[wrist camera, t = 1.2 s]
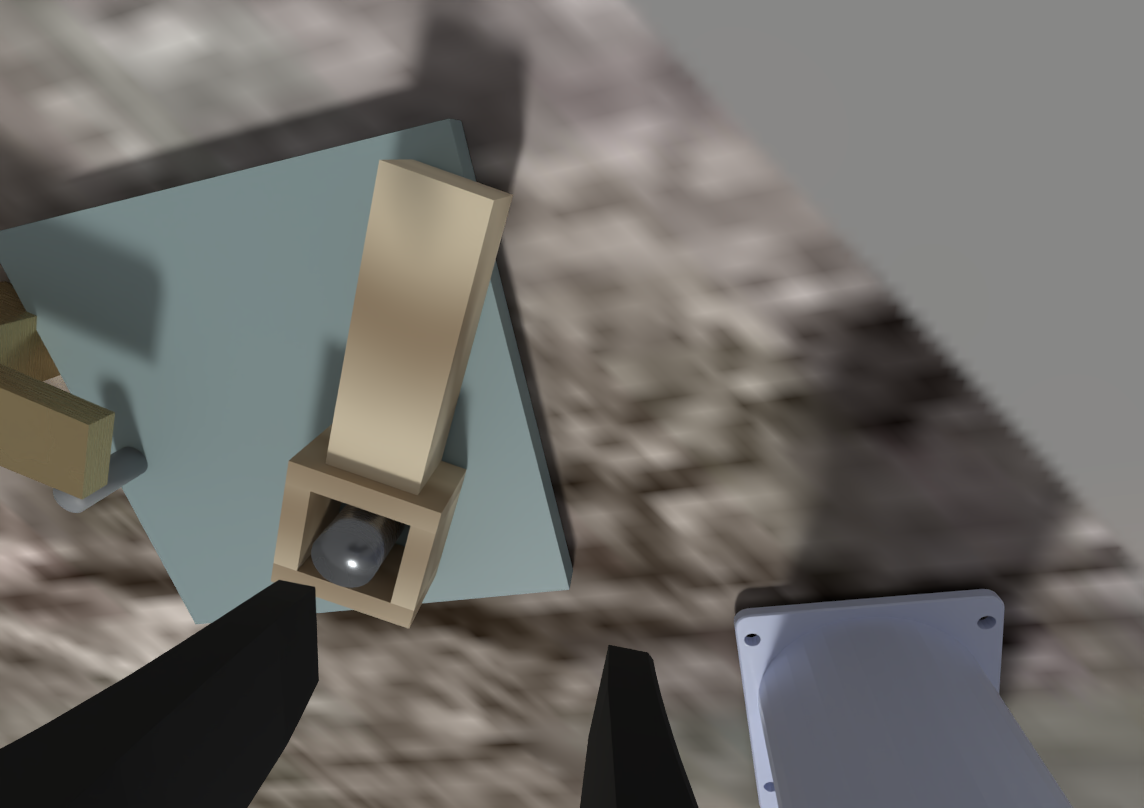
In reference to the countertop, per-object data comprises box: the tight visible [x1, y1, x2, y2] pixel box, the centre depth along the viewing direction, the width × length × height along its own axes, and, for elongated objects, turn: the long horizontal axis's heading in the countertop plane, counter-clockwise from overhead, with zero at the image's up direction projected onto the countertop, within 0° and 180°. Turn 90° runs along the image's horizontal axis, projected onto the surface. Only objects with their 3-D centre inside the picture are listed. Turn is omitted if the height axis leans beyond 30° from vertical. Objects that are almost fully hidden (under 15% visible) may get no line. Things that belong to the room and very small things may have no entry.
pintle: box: [311, 504, 407, 588], centre depth 18 cm, size 2×2×4 cm
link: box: [271, 159, 513, 628], centre depth 16 cm, size 12×4×2 cm, turn 162°
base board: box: [0, 118, 573, 624], centre depth 17 cm, size 14×14×3 cm
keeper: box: [0, 281, 115, 499], centre depth 17 cm, size 7×2×4 cm, turn 67°
